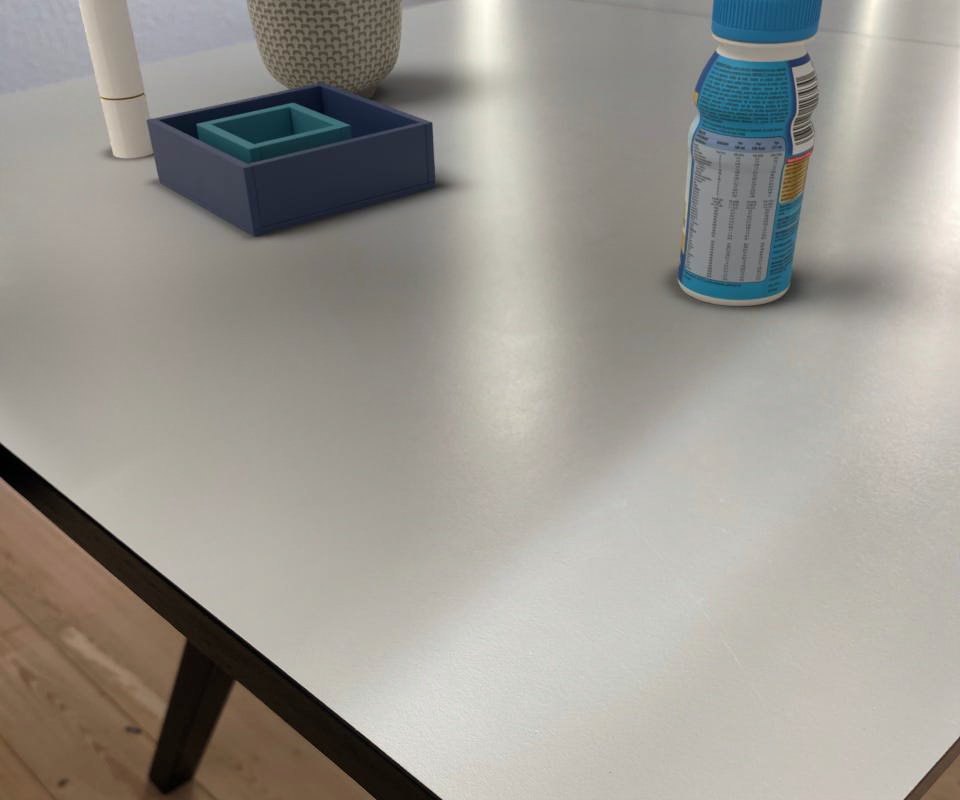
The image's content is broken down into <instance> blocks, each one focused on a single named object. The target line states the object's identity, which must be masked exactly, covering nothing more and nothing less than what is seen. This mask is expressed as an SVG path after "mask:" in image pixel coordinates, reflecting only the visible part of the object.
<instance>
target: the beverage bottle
mask: <svg viewBox="0 0 960 800" xmlns="http://www.w3.org/2000/svg"><path fill="white" fill-rule="evenodd" d="M712 2H713V3H712V11H711V12H712V13H711V30H710V31H711V36H712V38H713V39H714V41H717V42H718V43H719V45H718V46H717V47H716V49H715V50H714V51H713V53H712V55H711V56H710V57H709V59H708V60H707V62H706V64H705V65H704V67H703V69H702V71H701V72H700V74H699V77H698V80H697V81H696V84H695V88H694V91H693V97H692V99H693V103H694V106H695V108H696V115H695V117H694V119H693V121H692V123H691V124H690V127H689V130H688V135H687V150H688V158H687V171H686V183H685V195H684V208H683V220H682V233H681V244H680V255H679V257H680V258H679V264H678V271H677V283H678V285H679V287H680V289H681V290H682V291H683V292H684V293H685V294H686V295H688V296H689V297H691V298H693V299H695V300H698V301H700V302H704V303H708V304H712V305H718V306H725V307H726V306H727V307H752V306H753V307H754V306H760V305H764V304H769V303H771V302H774V301H776V300H778V299H780V298H782V297H783V296H784V295H785V294H786V293H787V291H788V290H789V288H790V285H791V280H792V275H793V263H794V256H795V249H796V242H797V237H798V230H799V225H800V218H801V212H802V205H803V200H804V194H805V186H806V181H807V175H808V168H809V163H810V158H811V156H812V154H813V152H814V148H815V142H816V141H815V140H816V130H815V127H814V124H813V121H812V115H813V112H814V111H815V109H816V108H817V107H818V105H819V102H820V85H819V80H818V76H817V72H816V69H815V66H814V63H813V60H812V59H811V56H810V54H809V52H808V49H807V48H806V44H809V43H811V42H812V41H814V39H815V38H816V34H817V33H818V30H819V25H820V19H821V13H822V7H823V0H713V1H712Z"/></svg>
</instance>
